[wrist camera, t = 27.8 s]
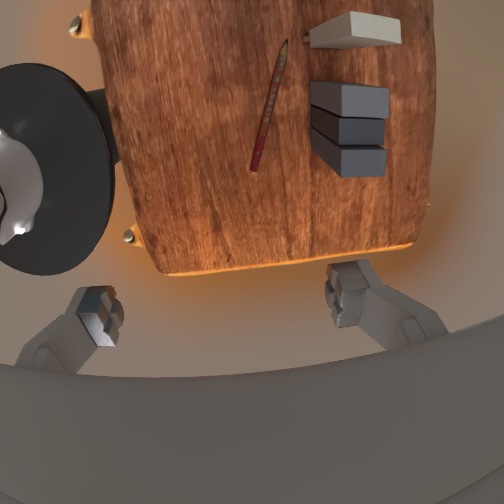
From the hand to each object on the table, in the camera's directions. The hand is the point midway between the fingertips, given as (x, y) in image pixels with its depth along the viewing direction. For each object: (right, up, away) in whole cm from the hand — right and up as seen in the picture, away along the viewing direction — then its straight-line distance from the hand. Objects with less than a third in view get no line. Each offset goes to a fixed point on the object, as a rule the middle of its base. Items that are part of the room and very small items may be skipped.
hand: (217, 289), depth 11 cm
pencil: (+3, +20, +24) cm, 32 cm away
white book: (+11, +28, +19) cm, 36 cm away
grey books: (+12, +20, +25) cm, 34 cm away
